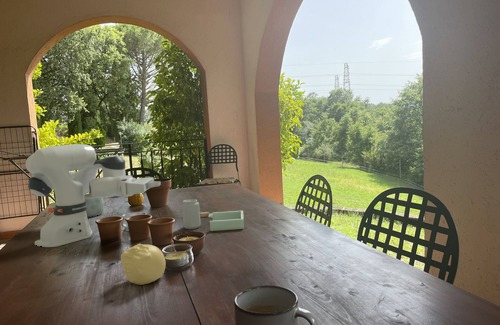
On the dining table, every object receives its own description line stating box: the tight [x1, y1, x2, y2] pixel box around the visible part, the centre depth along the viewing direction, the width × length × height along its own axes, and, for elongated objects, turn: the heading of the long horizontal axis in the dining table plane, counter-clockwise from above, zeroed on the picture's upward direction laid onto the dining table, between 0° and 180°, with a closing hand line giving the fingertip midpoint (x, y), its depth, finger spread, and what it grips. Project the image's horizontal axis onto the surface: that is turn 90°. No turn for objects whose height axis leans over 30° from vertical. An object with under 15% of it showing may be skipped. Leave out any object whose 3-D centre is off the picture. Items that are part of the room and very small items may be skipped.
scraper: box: [200, 211, 213, 219], centre depth 189 cm, size 15×7×2 cm, turn 89°
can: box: [181, 198, 201, 230], centre depth 170 cm, size 8×8×12 cm
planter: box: [84, 192, 105, 218], centre depth 207 cm, size 12×12×11 cm
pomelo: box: [120, 243, 167, 286], centre depth 114 cm, size 12×12×11 cm
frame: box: [209, 210, 245, 232], centre depth 170 cm, size 14×16×4 cm
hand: (160, 183), depth 168 cm, fingers closed
